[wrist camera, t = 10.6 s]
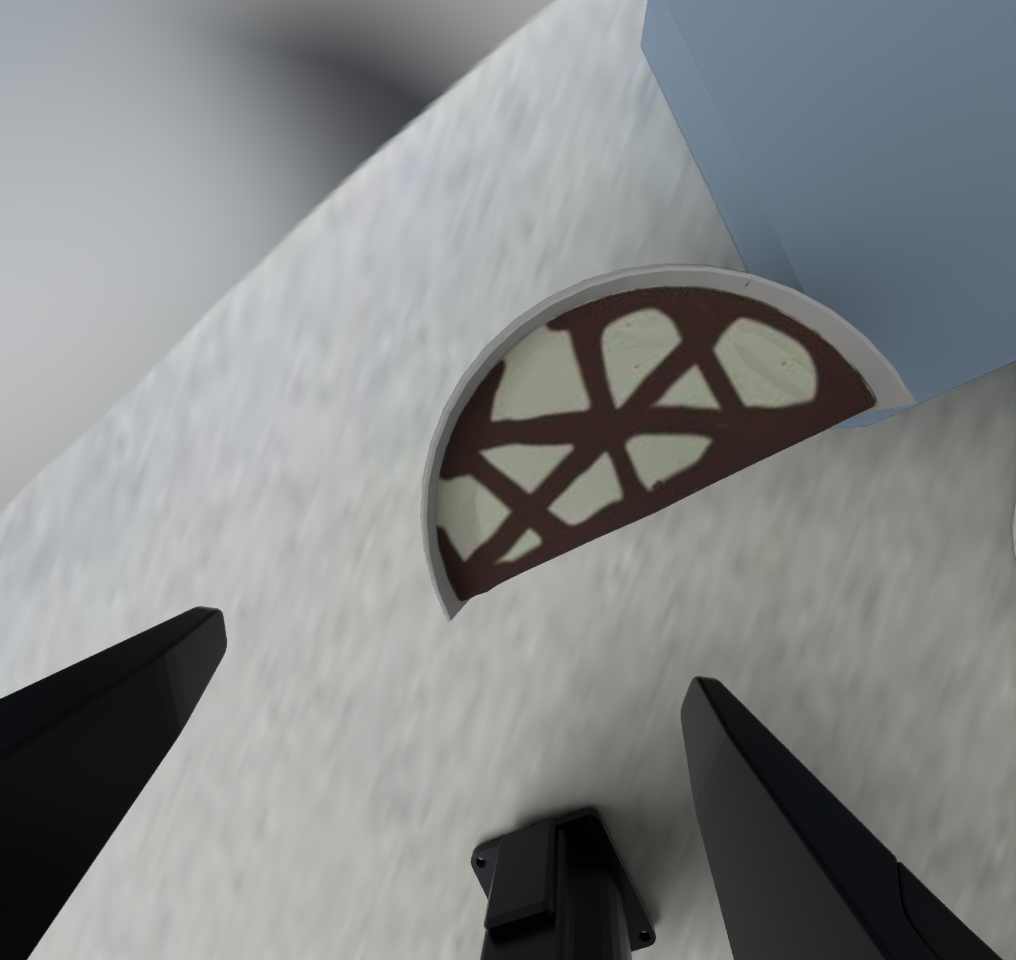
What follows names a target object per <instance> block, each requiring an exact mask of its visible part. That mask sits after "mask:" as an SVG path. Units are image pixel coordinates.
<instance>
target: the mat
mask: <svg viewBox="0 0 1016 960" xmlns="http://www.w3.org/2000/svg"><path fill="white" fill-rule="evenodd" d="M641 47H642V49H643V52H644V54H645V56H646V58H647V60H648V62H649V64H650V66H651V68H652V71H653V73H654V75H655V77H656V79H657V81H658V83H659V85H660V87H661V89H662V92H663V94H664V96H665V98H666V100H667V102H668V104H669V106H670V108H671V110H672V113H673V115H674V117H675V119H676V121H677V123H678V125H679V127H680V129H681V131H682V134H683V136H684V138H685V140H686V142H687V144H688V146H689V148H690V150H691V152H692V155H693V157H694V159H695V161H696V163H697V165H698V167H699V169H700V171H701V173H702V176H703V178H704V180H705V182H706V184H707V186H708V188H709V190H710V192H711V194H712V197H713V199H714V201H715V203H716V205H717V207H718V209H719V211H720V213H721V216H722V218H723V220H724V222H725V224H726V226H727V228H728V230H729V232H730V234H731V237H732V239H733V241H734V243H735V245H736V247H737V249H738V251H739V253H740V255H741V258H742V260H743V262H744V264H745V266H746V268H747V270H748V272H749V273H751V274H754V275H756V276H759V277H762V278H765V279H768V280H770V281H773V282H776V283H779V284H781V285H784V286H787V287H790V288H792V289H795V290H797V291H799V292H801V293H802V294H804V295H806V296H808V297H810V298H811V299H813V300H815V301H817V302H819V303H821V304H822V305H824V306H826V307H828V308H830V309H831V310H833V311H834V312H836V313H837V314H838V315H839V316H841V317H842V318H843V319H845V320H846V321H847V322H848V323H850V324H851V325H852V326H853V327H855V328H856V329H857V330H858V331H860V332H861V333H862V334H863V335H865V336H866V337H867V338H868V339H869V340H870V341H871V342H872V344H873V345H874V346H875V347H876V348H877V349H878V350H879V351H880V352H881V354H882V355H883V356H884V357H885V358H886V359H887V360H888V361H889V362H890V364H891V365H892V366H893V367H894V368H895V369H896V371H897V372H898V374H899V375H900V377H901V379H902V380H903V382H904V383H905V385H906V386H907V388H908V390H909V391H910V393H911V394H912V396H913V397H914V399H915V401H916V402H917V403H915V404H913V405H907V406H901V407H895V408H889V409H883V410H877V411H871V412H865V413H859V414H857V415H855V416H853V417H851V418H849V419H847V420H845V421H843V422H841V423H839V424H837V425H834V426H832V427H830V428H847V427H864V426H869V425H872V424H874V423H876V422H878V421H881V420H883V419H885V418H887V417H890V416H892V415H894V414H896V413H899V412H901V411H903V410H906V409H908V408H910V407H912V406H915V405H917V404H919V403H921V402H924V401H926V400H928V399H930V398H933V397H935V396H937V395H939V394H942V393H944V392H946V391H949V390H951V389H953V388H955V387H958V386H960V385H962V384H964V383H967V382H969V381H971V380H973V379H976V378H978V377H980V376H983V375H985V374H987V373H989V372H992V371H994V370H996V369H998V368H1001V367H1003V366H1005V365H1007V364H1010V363H1012V362H1014V361H1016V0H648V3H647V9H646V15H645V21H644V27H643V33H642V40H641ZM830 428H828V429H830Z"/></svg>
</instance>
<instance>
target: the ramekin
mask: <svg viewBox="0 0 1016 960" xmlns="http://www.w3.org/2000/svg"><path fill="white" fill-rule="evenodd" d="M1013 545H1014V550H1015V555H1016V504H1015V508H1014V515H1013Z"/></svg>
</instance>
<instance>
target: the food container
mask: <svg viewBox="0 0 1016 960" xmlns="http://www.w3.org/2000/svg"><path fill="white" fill-rule="evenodd" d="M915 403H917V402H916V401H915V399H914V397H913V396H912V394H911V393H910V391H909V390H908V388H907V386H906V385H905V383H904V382H903V380H902V379H901V377H900V375H899V374H898V372H897V371H896V369H895V368H894V367H893V366H892V365H891V364H890V362H889V361H888V360H887V359H886V358H885V357H884V356H883V355H882V354H881V352H880V351H879V350H878V349H877V348H876V347H875V346H874V345H873V344H872V342H871V341H870V340H869V339H868V338H867V337H866V336H865V335H863V334H862V333H861V332H860V331H858V330H857V329H856V328H855V327H853V326H852V325H851V324H850V323H848V322H847V321H846V320H845V319H843V318H842V317H841V316H839V315H838V314H837V313H836V312H834V311H833V310H831V309H830V308H828V307H826V306H824V305H822V304H821V303H819V302H817V301H815V300H813V299H811V298H810V297H808V296H806V295H804V294H802V293H801V292H799V291H797V290H795V289H792V288H790V287H787V286H784V285H781V284H779V283H776V282H773V281H770V280H768V279H765V278H762V277H759V276H756V275H754V274H751V273H748V272H743V271H737V270H732V269H727V268H721V267H716V266H710V265H697V264H658V265H650V266H642V267H635V268H627V269H621V270H618V271H615V272H611V273H608V274H604V275H601V276H597V277H594V278H591V279H587V280H584V281H582V282H580V283H577V284H575V285H573V286H571V287H569V288H567V289H565V290H562V291H560V292H558V293H556V294H554V295H552V296H550V297H548V298H546V299H544V300H543V301H541V302H540V303H539V304H537V305H536V306H534V307H533V308H531V309H530V310H528V311H527V312H525V313H524V314H522V315H521V316H519V317H518V318H516V319H515V320H514V321H512V322H511V323H510V324H509V325H508V326H507V327H506V328H505V329H504V330H503V331H502V332H501V333H499V334H498V335H497V336H496V337H495V338H494V339H493V340H492V341H491V342H490V343H489V344H488V345H486V346H485V348H484V349H483V350H482V352H481V353H480V354H479V355H478V357H477V358H476V359H475V360H474V362H473V363H472V364H471V365H470V367H469V368H468V369H467V370H466V372H465V373H464V374H463V375H462V377H461V379H460V380H459V382H458V384H457V386H456V387H455V389H454V391H453V393H452V394H451V396H450V398H449V400H448V401H447V403H446V405H445V407H444V408H443V411H442V414H441V416H440V419H439V422H438V424H437V427H436V429H435V432H434V435H433V437H432V440H431V443H430V447H429V452H428V456H427V461H426V466H425V470H424V475H423V482H422V499H421V524H422V535H423V545H424V552H425V556H426V560H427V564H428V568H429V572H430V576H431V580H432V584H433V587H434V590H435V592H436V595H437V597H438V599H439V602H440V604H441V607H442V609H443V611H444V614H445V616H446V619H447V621H448V622H449V621H451V620H452V619H453V618H454V617H455V615H456V614H457V613H458V612H459V611H460V610H461V608H462V607H463V606H464V605H465V604H466V603H467V602H468V600H469V599H470V598H472V597H474V596H476V595H479V594H482V593H485V592H488V591H489V590H490V589H492V588H493V587H495V586H496V585H498V584H500V583H502V582H504V581H506V580H508V579H510V578H512V577H514V576H516V575H518V574H520V573H523V572H525V571H527V570H529V569H531V568H533V567H536V566H538V565H540V564H542V563H544V562H546V561H549V560H551V559H553V558H555V557H557V556H559V555H562V554H564V553H566V552H568V551H570V550H572V549H575V548H577V547H579V546H581V545H583V544H585V543H587V542H590V541H592V540H594V539H596V538H599V537H601V536H603V535H605V534H608V533H610V532H612V531H614V530H617V529H619V528H621V527H624V526H626V525H628V524H630V523H633V522H635V521H637V520H639V519H642V518H644V517H646V516H649V515H651V514H653V513H655V512H657V511H659V510H661V509H663V508H665V507H667V506H669V505H671V504H673V503H675V502H677V501H679V500H681V499H683V498H685V497H687V496H689V495H691V494H693V493H695V492H697V491H699V490H701V489H703V488H705V487H707V486H709V485H711V484H713V483H715V482H717V481H719V480H721V479H723V478H726V477H728V476H730V475H732V474H734V473H736V472H738V471H740V470H742V469H744V468H746V467H748V466H750V465H752V464H755V463H757V462H759V461H761V460H763V459H765V458H767V457H769V456H771V455H774V454H776V453H778V452H780V451H782V450H784V449H786V448H788V447H790V446H793V445H795V444H797V443H799V442H801V441H803V440H805V439H807V438H809V437H811V436H814V435H816V434H818V433H820V432H822V431H824V430H826V429H828V428H830V427H832V426H834V425H837V424H839V423H841V422H843V421H845V420H847V419H849V418H851V417H853V416H855V415H857V414H859V413H865V412H871V411H877V410H883V409H889V408H895V407H901V406H907V405H913V404H915Z"/></svg>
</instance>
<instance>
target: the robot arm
mask: <svg viewBox="0 0 1016 960" xmlns="http://www.w3.org/2000/svg"><path fill="white" fill-rule="evenodd" d="M226 648H227V637H226V630H225V623H224V617H223V613H222V611H221V610H219V609H217V608H210V607H203V606H198V607H195V608H192V609H190V610H188V611H186V612H184V613H182V614H180V615H178V616H175V617H173V618H171V619H169V620H167V621H165V622H163V623H161V624H158V625H156V626H154V627H152V628H150V629H148V630H146V631H144V632H141V633H139V634H137V635H135V636H133V637H131V638H129V639H127V640H124V641H122V642H120V643H118V644H116V645H114V646H112V647H110V648H107V649H105V650H103V651H101V652H99V653H97V654H95V655H93V656H90V657H88V658H86V659H84V660H82V661H80V662H78V663H76V664H73V665H71V666H69V667H67V668H65V669H63V670H61V671H59V672H56V673H54V674H52V675H50V676H48V677H46V678H44V679H42V680H39V681H37V682H35V683H33V684H31V685H29V686H27V687H25V688H22V689H20V690H18V691H16V692H14V693H12V694H10V695H8V696H5V697H3V698H1V699H0V960H27V959H28V958H29V956H30V955H31V953H32V952H33V950H34V949H35V947H36V946H37V944H38V943H39V941H40V940H41V938H42V937H43V935H44V934H45V933H46V931H47V930H48V928H49V927H50V925H51V924H52V922H53V921H54V919H55V918H56V916H57V915H58V913H59V912H60V910H61V909H62V908H63V906H64V905H65V903H66V902H67V900H68V899H69V897H70V896H71V894H72V893H73V891H74V890H75V888H76V887H77V885H78V884H79V883H80V881H81V880H82V878H83V877H84V875H85V874H86V872H87V871H88V869H89V868H90V866H91V865H92V863H93V862H94V860H95V859H96V858H97V856H98V855H99V853H100V852H101V850H102V849H103V847H104V846H105V844H106V843H107V841H108V840H109V838H110V837H111V835H112V834H113V832H114V831H115V830H116V828H117V827H118V825H119V824H120V822H121V821H122V819H123V818H124V816H125V815H126V813H127V812H128V810H129V809H130V807H131V806H132V805H133V803H134V802H135V800H136V799H137V797H138V796H139V794H140V793H141V791H142V790H143V788H144V787H145V785H146V784H147V782H148V781H149V780H150V778H151V777H152V775H153V774H154V772H155V771H156V769H157V768H158V766H159V765H160V763H161V762H162V760H163V759H164V757H165V756H166V755H167V753H168V752H169V750H170V749H171V747H172V746H173V744H174V743H175V741H176V740H177V738H178V736H179V735H180V733H181V732H182V730H183V728H184V727H185V725H186V723H187V722H188V720H189V718H190V716H191V714H192V713H193V711H194V709H195V707H196V705H197V703H198V702H199V700H200V698H201V696H202V694H203V693H204V691H205V689H206V687H207V685H208V683H209V682H210V680H211V678H212V676H213V674H214V672H215V671H216V669H217V667H218V665H219V663H220V662H221V660H222V658H223V656H224V654H225V651H226ZM681 723H682V729H683V736H684V742H685V749H686V755H687V762H688V768H689V775H690V781H691V788H692V794H693V799H694V805H695V809H696V814H697V818H698V822H699V826H700V830H701V833H702V837H703V841H704V845H705V849H706V853H707V857H708V861H709V864H710V868H711V872H712V876H713V880H714V884H715V888H716V892H717V895H718V899H719V903H720V907H721V911H722V915H723V919H724V923H725V927H726V930H727V934H728V938H729V942H730V946H731V950H732V954H733V958H734V960H1003V959H1002V958H1001V957H999V956H998V955H997V954H996V953H995V952H994V951H993V950H992V949H991V948H990V947H989V946H988V945H986V944H985V943H984V942H983V941H982V940H981V939H980V938H979V937H978V936H977V935H976V934H975V933H973V932H972V931H971V930H970V929H969V928H968V927H967V926H966V925H965V924H964V923H963V922H962V921H961V920H960V919H959V918H958V917H957V916H956V915H955V914H954V913H953V912H952V911H950V910H949V909H948V908H947V907H946V906H945V905H944V904H943V903H942V902H941V901H940V900H939V899H938V898H937V897H936V896H935V895H934V894H933V893H932V892H931V891H930V890H929V889H928V888H927V887H926V886H925V885H924V884H923V883H922V882H921V881H920V880H919V879H918V878H917V877H916V876H915V875H914V874H913V873H912V872H911V871H910V870H909V869H908V868H907V867H906V866H905V865H904V864H903V863H901V862H897V859H896V857H895V856H894V855H893V854H892V853H891V852H890V851H889V850H888V849H887V848H886V847H885V846H884V845H883V844H882V843H881V842H880V841H879V840H878V839H877V838H876V837H875V836H874V835H873V834H872V833H871V832H870V831H869V830H868V829H867V828H866V827H865V826H864V825H863V824H862V823H861V822H860V821H859V820H858V819H857V818H856V817H855V816H854V815H853V814H852V813H851V812H850V811H849V810H848V809H847V808H846V807H845V806H844V805H843V804H842V803H841V802H840V801H839V800H838V799H837V798H836V797H835V796H834V795H833V794H832V793H831V792H830V791H829V790H828V789H827V788H826V787H825V786H824V785H823V784H822V783H821V782H820V781H819V780H818V779H817V778H816V777H815V776H814V775H813V774H812V773H811V772H810V771H809V770H808V769H807V768H806V767H805V766H804V765H803V764H802V763H801V762H800V761H799V760H798V759H797V758H796V757H795V756H794V755H793V754H792V753H791V752H790V751H789V750H788V749H787V748H786V747H785V746H784V745H783V744H782V743H781V742H780V741H779V740H778V739H777V738H776V737H775V736H774V735H773V734H772V733H771V732H770V731H769V730H768V729H767V728H766V727H765V726H764V725H763V724H762V723H761V722H760V721H759V720H758V719H757V718H756V717H755V716H754V715H753V714H752V713H751V712H750V711H749V710H748V709H747V708H746V707H745V706H744V705H743V704H742V703H741V702H740V701H739V700H738V699H737V698H736V697H735V696H734V695H733V694H732V693H731V692H730V691H729V690H728V689H727V688H726V687H725V686H724V685H723V684H722V683H721V682H720V681H719V680H717V679H715V678H709V677H702V676H696V677H694V678H693V679H692V681H691V683H690V686H689V688H688V691H687V694H686V696H685V699H684V701H683V704H682V707H681ZM588 820H593V821H594V822H595V823H593V824H589V823H587V822H586V821H588ZM479 858H484V859H485V861H482V860H480V859H479ZM471 865H472V868H473V870H474V872H475V874H476V876H477V878H478V880H479V882H480V884H481V886H482V888H483V890H484V892H485V894H486V896H487V898H488V904H487V909H486V914H485V920H484V927H485V929H486V931H485V936H484V941H483V947H482V952H481V957H480V960H632V956H631V952H632V951H635V950H639V949H642V948H645V947H649V946H651V945H653V944H654V942H655V940H656V935H655V929H654V925H653V922H652V920H651V918H650V916H649V914H648V912H647V910H646V908H645V906H644V904H643V902H642V900H641V897H640V895H639V893H638V891H637V889H636V887H635V885H634V883H633V881H632V879H631V877H630V875H629V873H628V871H627V868H626V866H625V864H624V862H623V860H622V858H621V856H620V854H619V852H618V850H617V848H616V846H615V844H614V842H613V839H612V837H611V835H610V833H609V831H608V829H607V827H606V825H605V823H604V821H603V819H602V817H601V815H600V813H599V812H598V811H597V810H595V809H593V808H586V809H583V810H580V811H577V812H574V813H571V814H568V815H566V816H563V817H560V818H557V819H554V820H551V821H546V822H543V823H540V824H537V825H534V826H531V827H529V828H526V829H523V830H520V831H517V832H514V833H511V834H509V835H506V836H503V837H502V838H500V839H497V840H494V841H491V842H488V843H486V844H483V845H480V846H478V847H476V848H475V849H474V850H473V853H472V857H471ZM641 931H646V933H642V932H641Z"/></svg>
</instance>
